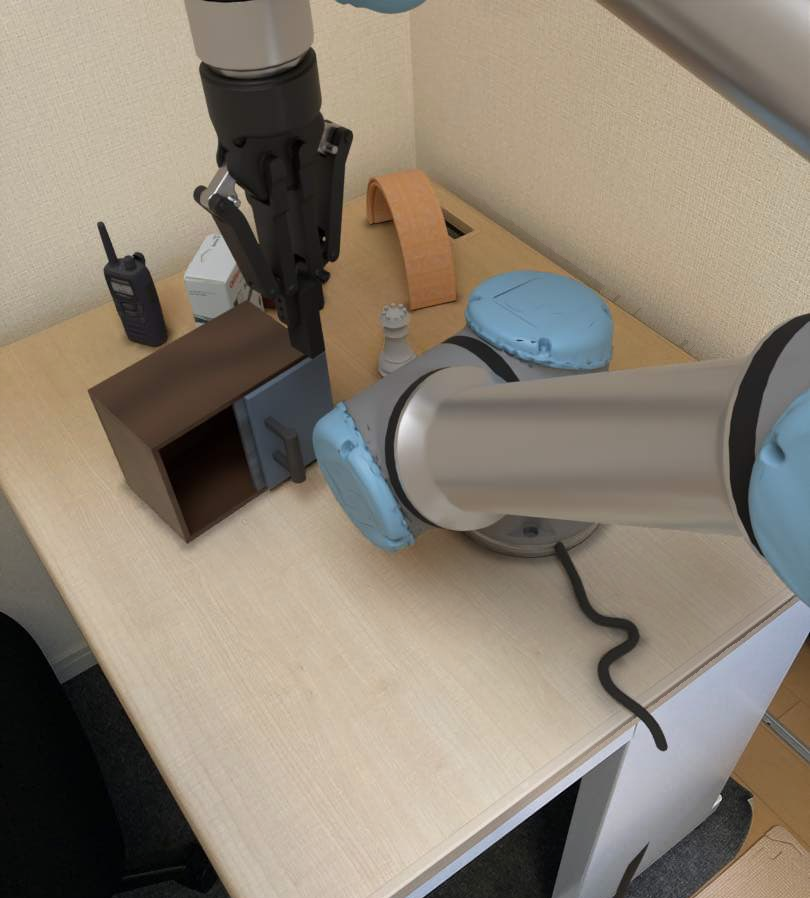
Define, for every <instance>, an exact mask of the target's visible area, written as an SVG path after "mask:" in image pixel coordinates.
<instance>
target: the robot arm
mask: <svg viewBox="0 0 810 898" xmlns="http://www.w3.org/2000/svg"><path fill="white" fill-rule="evenodd" d="M334 1H335V2H337V4H340V5H341V6H345V5H351V6H352V7H354V8H356V9H357V8H358V9H359V8H360V9H367V10H370V11H373V12H376V13H379V14H387V15H396V14H402V13H406V12H409V11H411V10H414V9H416V8H418V7H420V6H421V5H423V4H424V3H425V2H426V1H427V0H334ZM594 1H595V2H596V3H597V4H599V5H600V6H601V7H603V8H604V9H605V10H606V11H608V12H609V13H610V14H611V15H613V16H614V17H616V18H617V19H618V20H619V21H621V22H623V23H624V24H625V25H626V26H627V27H629V28H630V29H631V30H633V31H634V32H635V33H637V34H638V35H640V37H642V38H644V39H645V40H646V41H647V42H649V43H650V44H651V45H652V46H653V47H656V48H657V49H658V50H659V51H661V52H662V53H663V54H664V55H666V56H668V57H669V58H670V59H671V60H673V61H674V62H675V63H676V64H678V65H679V66H681V67H682V68H683V69H684V70H686V71H687V72H688V73H690V74H691V75H693V76H694V77H695V78H697V79H698V80H700V82H702V83H703V84H704V85H706V86H707V87H709V88H710V89H711V90H712V91H714V92H715V93H716V94H718V95H719V96H720V97H722V98H723V99H724V100H726V102H729V103H730V104H731V105H732V106H733V107H735V108H736V109H737V110H739V111H740V112H742V113H743V114H744V115H745V116H747V117H748V118H749V119H750V120H752V121H753V122H755V123H756V124H757V125H759V126H760V127H761V128H763V129H764V131H765V130H766V131H767V132H768V133H770V134H771V136H773V137H774V138H776V139H778V141H780V142H781V143H782V144H784V145H785V146H787V147H788V148H789V149H790V150H792V151H793V152H795V153H796V154H797V155H799V156H800V157H801V158H803V159H804V160H805V161H807V163H809V164H810V0H594ZM183 3H184V7H185V11H186V16H187V20H188V26H189V30H190V34H191V38H192V43H193V48H194V51H195V55H196V57H197V58H198V59H199V61H200V63H199V65H198V66H199V67H198V72H199V76H200V81H201V86H202V91H203V95H204V100H205V104H206V108H207V112H208V117H209V120H210V122H211V125H212V126H213V129H214V132H215V134H216V137H217V148H216V154H215V161H216V164H217V167H218V170H217V171H216V173H215V174H214V176H213V177H212V179H211V181H210V182H209V184H208V186H205V185H203V184H200V185H198V186H196V187H195V188H194V190H193V194H192V197H193V200H194V202H195V203H197V205H199V206H200V207H201V208H202V209H204V211H206V212H207V213H209V214H210V215H211V217H212V219H213V221H214V223H215V225H216V227H217V229H218V231H219V234H221V235H222V237H223V238H224V240H225V242H226V244H227V246H228V248H229V250H230V252H231V254H232V256H233V258H234V260H235V262H236V264H237V266H238V268H239V269H240V271H241V273H242V275H243V277H244V279H245V281H246V283H247V285H248V286H249V287H250V288H252V289H253V290H255V291H257V292H258V293H260V294H261V295H263V296H265V297H266V298H268V299H270V300H274V301H275V306H274V307H275V310H276V315H277V319H278V320H279V321H280V323H281V324H283V325H284V326H286V328H288V333H289V338H290V343H291V346H292V347H294V348H295V349H297V350H298V351H300V352H301V353H303V354H304V355H306V356H308V357H309V358H311V359H312V360H313V359H314V358H316V357H317V356H319V355H320V354H322V353H323V352H326V351H327V350H326V344H325V339H324V332H323V325H322V319H321V313H320V311H322V310H324V308H325V296H324V289H323V288H324V287H323V285H325V284H327V283H328V281H329V280H330V278H331V272H329V271H328V270H326V269H325V267H326V266H327V265H328V264H329V263H335V262H337V261H338V259H339V257H340V253H341V239H342V226H343V225H342V224H343V210H344V209H343V207H344V192H345V180H346V179H345V178H346V164H347V160H348V157H349V154H350V151H351V147H352V144H353V141H354V132H353V130H352V129H349V128H347V127H345V126H343V125H340V124H338V123H336V122H334V121H331V120H329V119H325V117H324V115H323V114H322V112H321V108H322V105H323V103H322V102H323V97H322V90H321V81H320V73H319V67H318V66H319V65H318V59H317V53H316V51H315V49H314V48H313V47H312V45H313V44H314V41H315V30H314V23H313V16H312V7H311V0H183ZM236 185H237V186H238V187H240V188H241V189H242V190H243V191H244V195H245V199H246V202H247V204H249V206H250V207H251V211H252V216H253V220H254V221H253V222H254V224H255V230H256V235H257V238H256V235H255V233H254V231H253V229H252V227H251V225H250V223H249V221H248V219H247V217H246V215H245V214H244V213H243V211H241V209H239V208H240V207H241V205H242V201H241V200H240V199H239V196H238V193H237V192H236V188H235V187H236ZM259 245H260V246H259ZM296 270H297V272H296ZM463 313H464V318H465V322H466V323H465V325H464V326H463V328H462V329H460V330H459V331H457V332H456V333H454V334H453V335H451V336H449V337H448V338H446V339H444V340H443V341H442V342H440V343H439V344H437V345H436V344H435V345H434V346H432V347H431V348H429V349H427V350H425V351H424V352H423V353H421V354H419V355H418V356H417V357H416V358H414V359H413V360H411V361H410V362H408V363H406V364H405V365H403V366H401V367H400V368H398V369H397V370H395V371H393V372H392V373H390V374H388V375H387V376H385V377H384V376H383V377H382V378H380V379H379V380H377V381H375V382H373V383H372V384H370V385H369V386H368V387H365V388H363V389H362V390H360V391H359V392H358V393H356V394H354V395H353V396H351V397H350V398H347V399H346V400H344V401H339V402H337V403H336V405H335V406H336V407H334V409H333V410H332V411H330V412H329V413H328V414H326V415H325V416H324V417H322V418H321V419H320V420H319V421H318V422H317V423H316V425H315V427H314V430H313V447H314V451H315V455H316V459H315V460H316V461H317V464H318V466H319V469H320V472H321V474H322V476H323V478H324V480H325V482H326V484H327V486H328V488H329V490H330V491H331V493H332V495H333V496H334V498H335V500H336V502H337V503H338V505H339V506H340V508H341V509H342V511H343V512H344V513H345V515H346V516H347V518H348V519H349V520H350V522H351V523H352V524H353V525H354V526H355V528H356V529H357V530H358V532H360V534H361V535H362V536H363V537H364V538H365V539H366V540H367V541H368V542H370V543H371V544H372V545H373V546H374V547H376V548H377V549H379V550H381V551H383V552H385V553H390V554H391V553H392V554H394V553H398V552H400V551H402V550H403V549H405V548H406V547H409V546H410V547H411V546H412V547H413V546H414V545H415V544H416V543H417V542H416V540H417V539H418V538H420V537H421V536H422V535H425V534H426V533H427V532H429V531H431V530H433V529H441V530H447V531H455V532H456V531H459V532H463V534H465V535H466V536H467V537H469V538H470V539H471V540H473V541H474V542H476V543H477V544H479V545H480V546H481V547H482V546H483V547H484V548H487V549H489V550H491V551H494V552H497V553H500V554H504V555H507V556H512V557H513V556H514V557H525V558H533V557H535V558H536V557H537V558H538V557H546V556H550V555H554V554H556V555H557V557H558V558H559V561H560V562H561V565H562V567H563V569H564V571H565V572H566V575H567V577H568V579H569V582H570V584H571V586H572V589H573V592H574V595H575V599H576V601H577V604H578V606H579V608H580V609H581V611H582V613H583V614H584V616H586V617H587V619H589V620H590V621H591V622H593V623H595V624H596V625H600V626H601V627H607V628H614V629H615V628H616V629H621V630H624V631H626V632H627V634H628V637H627V639H625V641H623V642H621V643H620V644H618V645H617V646H615V647H613V648H611V649H610V650H608V651H607V652H606V653H605V654H603V655H602V657H601V658H600V659H599V661H598V664H597V675H598V678H599V682H600V684H601V686H602V688H603V689H604V690H605V692H607V694H608V695H610V697H611V698H613V699H614V700H615V701H616V702H618V704H620V705H621V706H622V707H624V708H626V709H627V710H628V711H629V712H631V713H632V714H634V716H636V717H637V718H638V719H639V720H640V721H641V722H643V724H644V725H645V726H646V727H647V729H648V731H649V732H650V734H651V736H652V739H653V741H654V744H655V747H656V748H657V750H659V751H660V752H666V751H668V748H669V746H668V741H667V738H666V736H665V733H664V731H663V729H662V727H661V726H660V724H659V723H658V721H657V720H656V718H655V717H654V716H653V715H652V714H651V712H649V711H648V710H647V709H646V708H645V707H644V706H642V705H641V704H640V703H639V702H637V701H636V700H634V699H633V698H632V697H630V696H629V695H628V694H626V693H625V692H624V691H622V690H621V689H620V688H619V687H618V686H617V685H616V684H615V683H614V681H613V679H612V678H611V675H610V669H609V668H610V665H612V663H613V662H615V661H616V660H618V659H619V658H621V657H622V656H624V655H626V654H628V653H629V652H631V651H632V650H633V649H634V648H635V647H637V645H638V643H639V642H640V637H641V635H640V631H639V628H638V626H637V625H636V624H635V623H634V622H633V621H631V620H629V619H627V618H623V617H614V616H608V615H603V614H600V613H598V612H597V610H595V609H594V607H593V606H592V605H591V603H590V601H589V599H588V596H587V593H586V590H585V587H584V583H583V581H582V578H581V576H580V574H579V573H578V570H577V568H576V566H575V564H574V562H573V561H572V558H571V556H570V555H569V553H568V551H567V550H569V549H572V548H574V547H575V546H577V545H579V544H581V543H582V542H583V541H585V540H587V538H588V537H590V535H591V534H592V533H593V532H594V531H595V530H596V528H598V526H599V524H604V525H615V526H623V527H625V526H626V527H634V528H635V527H636V528H645V529H656V530H664V531H665V530H666V531H677V532H687V533H696V534H705V535H706V534H707V535H718V536H728V537H737V538H743V540H744V541H745V542H746V544H747V545H748V547H749V548H750V549H751V551H752V552H753V553H754V554H755V556H756V557H758V559H760V561H762V562H763V563H764V564H765V565H767V566H769V567H770V569H772V571H773V573H774V574H775V575H776V576H777V577H778V578H779V580H780V581H781V582H782V583H783V584H784V585H785V586H786V587H787V589H789V591H790V592H791V593H792V594H793V595H794V596H795V597H797V599H799V601H801V602H802V603H803V604H804V605H806V606H807V607H808V608H809V609H810V312H809V313H808V312H807V313H804V314H800V315H796V316H792V317H789V318H788V319H786V320H783V321H782V322H780V323H777V325H776V326H774V327H773V328H771V329H770V330H769V331H768V332H767V333H766V334H765V335H764V336H762V338H761V339H760V340H759V341H758V342H757V343H756V345H755V346H754V348H753V349H752V350H751V351H750V353H749V355H742V356H734V357H725V358H724V357H723V358H717V359H715V358H714V359H708V360H698V361H690V362H688V361H687V362H680V363H672V364H671V363H670V364H663V365H654V366H646V367H636V368H627V369H618V370H610V371H609V369H610V363H611V361H612V358H613V357H614V346H613V337H614V326H615V325H614V320H613V316H612V315H613V314H612V312H611V310H610V307H609V306H608V304H607V303H606V301H605V300H604V299H603V298H602V297H601V296H600V295H599V294H598V293H597V292H596V291H595V290H593V289H592V288H590V287H589V286H587V285H586V284H584V283H583V282H580V281H578V280H577V279H574V278H572V277H569V276H565V275H562V274H559V273H555V272H550V271H539V270H538V271H537V270H529V269H526V270H525V269H524V270H523V269H522V270H513V271H506V272H501V273H498V274H496V275H493V276H491V277H490V276H489V277H488V278H486V279H484V280H483V281H481V282H480V283H479V284H477V286H475V287H474V288H473V290H471V292H470V294H469V296H468V301H467V303H466V306H465V310H464V312H463ZM650 842H651V841H650V840H649V841H648V843H646V845H645V846H644V847H643V848H642V849H641V850H640V851H639V852H638V854H636V856H635V857H633V859H632V860H631V861H630V862H629V863H628V865H627V867H626V868H625V871H624V872H623V874H622V876H621V879H620V882H619V884H618V886H617V888H616V891H615V893H614V897H613V898H624V897H625V895H626V893H627V890H628V888H629V886H630V884H631V882H632V880H633V877H634V876H635V874H636V872H637V870H638V869H639V867H640V864H641V862H642V861H643V858H644V856H645V854H646V852H647V850H648V847H649V845H650Z"/></svg>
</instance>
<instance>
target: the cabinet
mask: <svg viewBox="0 0 810 898" xmlns="http://www.w3.org/2000/svg"><path fill="white" fill-rule="evenodd" d="M306 358H308V356H306V355H304V354H303V353H301V352H300V351H298V350H297V349H295V348H294V347H292V346H291V343H290V338H289V333H288V328H287V326H286V325H284V324H283V323H282V322H279V321H278V320H277V319H275V318H273V316H271V315H270V314H268V313H266V312H265V310H264V311H262V310H261V309H260V308H258V307H257V306H255V305H254V304H253V303H251V302H250V301H248V300H245V301H244V302H242V303H240V304H238V305H237V306H235V307H233V308H231V309H230V310H228V311H226V312H224V313H222V314H221V315H219V316H217V317H215V318H214V319H212V320H210V321H208V322H207V323H205V324H203V325H201V326H200V327H198V328H197V327H196V328H194V329H192V330H191V331H189V332H187V333H185V334H184V335H182V336H180V337H179V338H177V339H175V340H173V341H172V342H169V343H168V344H166V345H164V346H162V347H161V348H159V349H157V350H155V351H153V352H152V353H150V354H148V355H146V356H145V357H143V358H141V359H140V360H138V361H136V362H134V363H133V364H130V365H129V366H127V367H126V368H124V369H121V370H120V371H118V372H116V373H115V374H113V375H111V376H109V377H108V378H106V379H104V380H102V381H100V382H99V383H97V384H95V385H93V386H91V387H90V388H88V389H87V390H86V391H87V393H88V396H89V398H90V401H91V403H92V405H93V408H94V410H95V412H96V414H97V416H98V419H99V421H100V424H101V426H102V428H103V431H104V433H105V435H106V438H107V440H108V443H109V445H110V448H111V449H112V452H113V454H114V456H115V458H116V461H117V463H118V466H119V468H120V470H121V473H122V475H123V477H124V480H125V482H126V484H127V486H128V488H129V489H131V490H132V492H134V493H135V494H136V495H137V496H138V497H139V499H141V501H143V502H144V503H145V504H146V505H147V506H148V507H149V508H150V509H151V510H152V511H153V512H154V513H155V514H156V515H157V516H158V517H159V518H160V519H161V520H162V521H163V522H164V523H165V524H166V525H167V526H168V527H169V528H171V530H173V531H174V533H175V534H177V536H178V537H180V539H181V540H182V541H184V543H186V544H189V543H191V542H192V541H194V540H196V538H198V537H199V536H201V535H203V534H204V533H206V532H207V531H208V530H210V529H212V527H214V526H216V525H217V524H219V523H220V522H221V521H223V520H225V519H226V518H228V517H229V516H230V515H232V514H233V513H235V512H236V511H238V510H239V509H241V508H243V507H244V506H246V505H247V504H249V503H250V502H251V501H253V500H254V499H256V498H258V497H259V496H260V495H262V494H263V493H265V492H266V491H267V490H269V489H268V488H267V486H266V482H265V478H264V474H263V471H262V467H261V463H260V459H259V455H258V451H257V447H256V443H255V439H254V435H253V431H252V427H251V423H250V419H249V415H248V411H247V407H246V403H245V399H244V397H245V396H246V395H248V394H250V393H251V392H253V391H254V390H256V389H258V388H259V387H261V386H262V385H264V384H266V383H267V382H269V381H271V380H272V379H274V378H275V377H277V376H279V375H280V374H282V373H284V372H285V371H287V370H288V369H290V368H292V367H293V366H295V365H296V364H298V363H300V362H301V361H303V360H305V359H306Z"/></svg>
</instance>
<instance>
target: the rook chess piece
mask: <svg viewBox="0 0 810 898" xmlns="http://www.w3.org/2000/svg"><path fill="white" fill-rule="evenodd" d="M378 320H379V324H381V325H382V329H381V330H382V334H383V335H384V342H383V348H382V349H381V352H380V353H379V356H378V359H377V364H378V365H377V369H378V372H379V373H380V375H381V376H382V377H383V378H384V377H385V376H387V375H388V374H390V373H392V372H393V371H395V370H397V369H398V368H400V367H401V366H403V365H405V364H406V363H408V362H410V361H411V360H413V359H414V358H416V357H418V356H417V353H416V352H415V351H414V349H413V347H412V346H411V345H410V342H409V338H408V334H409V331H410V327H409V326H408V324H409V322H410V321H411V314H410V312H408V311H407V307H404V305H403V304H402V303H399V304H398V306H396V302H392V303H390V307H389V306H388V305H387V304H386V305H385V306H383V309H382V310H381V313H380V315H379V318H378Z"/></svg>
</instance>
